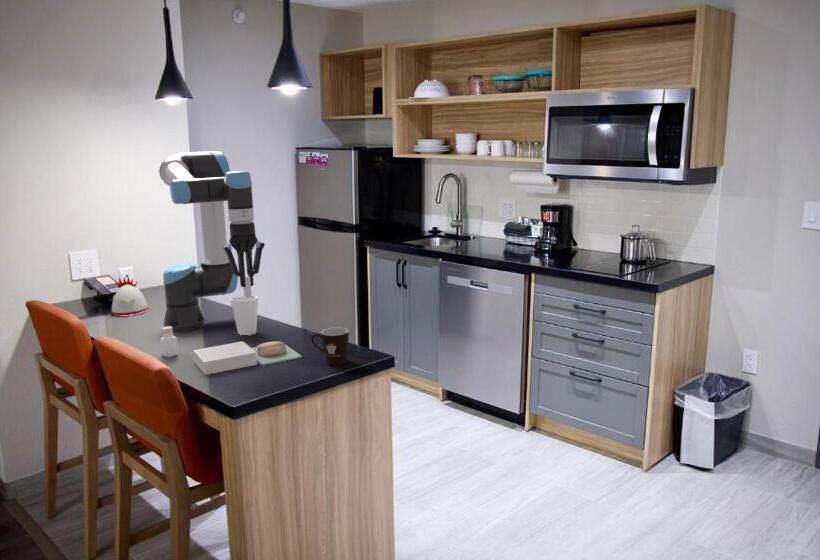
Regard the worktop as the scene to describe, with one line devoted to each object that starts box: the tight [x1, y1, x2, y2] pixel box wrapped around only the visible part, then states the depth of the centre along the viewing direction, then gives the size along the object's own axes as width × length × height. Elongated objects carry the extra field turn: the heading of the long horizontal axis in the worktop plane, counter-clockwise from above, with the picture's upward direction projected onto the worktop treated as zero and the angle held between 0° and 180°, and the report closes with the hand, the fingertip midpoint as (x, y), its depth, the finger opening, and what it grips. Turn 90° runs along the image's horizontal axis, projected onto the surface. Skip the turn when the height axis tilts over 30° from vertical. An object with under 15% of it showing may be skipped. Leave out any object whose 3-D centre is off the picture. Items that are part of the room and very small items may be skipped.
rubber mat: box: [250, 344, 302, 367], centre depth 221 cm, size 18×13×1 cm
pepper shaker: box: [160, 326, 179, 358], centre depth 222 cm, size 4×4×10 cm
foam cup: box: [230, 294, 259, 336], centre depth 245 cm, size 10×9×13 cm
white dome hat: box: [111, 276, 149, 315], centre depth 280 cm, size 14×14×15 cm
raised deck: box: [192, 340, 258, 376], centre depth 213 cm, size 14×16×4 cm
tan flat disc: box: [256, 340, 286, 357], centre depth 220 cm, size 9×9×2 cm
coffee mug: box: [310, 326, 350, 366], centre depth 211 cm, size 12×9×10 cm
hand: (248, 296), depth 214 cm, fingers closed
